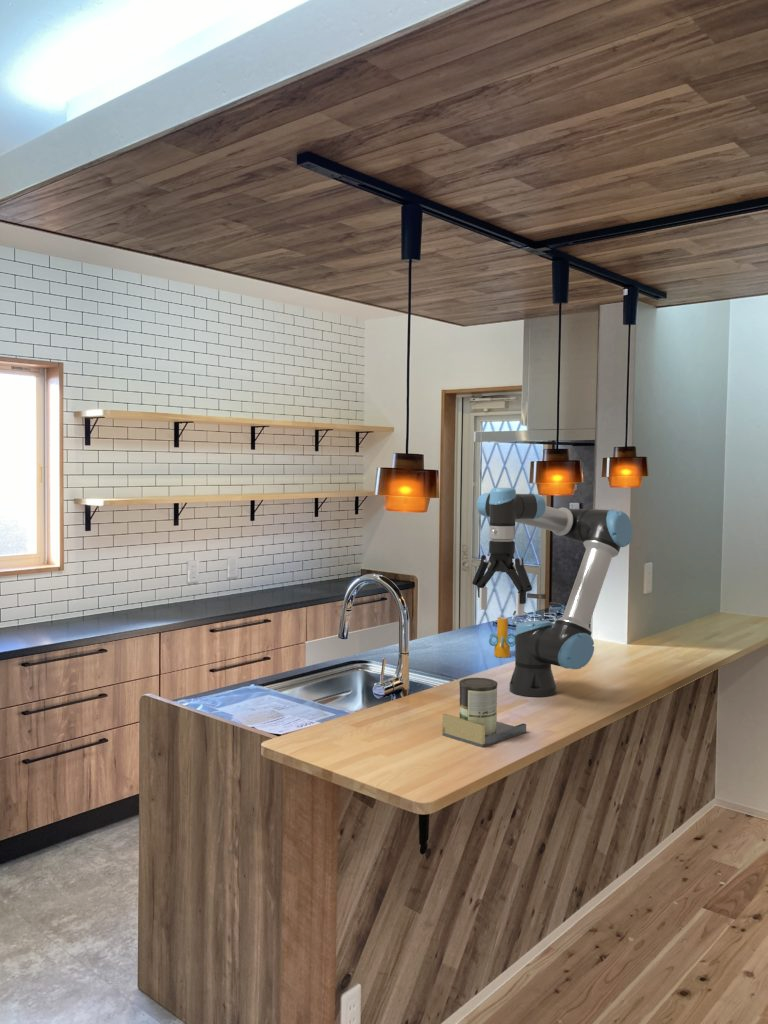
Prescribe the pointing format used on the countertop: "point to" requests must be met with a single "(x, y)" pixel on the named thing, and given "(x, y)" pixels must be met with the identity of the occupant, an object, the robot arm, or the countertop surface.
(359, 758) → the countertop surface
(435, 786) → the countertop surface
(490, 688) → the coffee can
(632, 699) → the countertop surface
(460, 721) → the rail channel
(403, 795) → the countertop surface
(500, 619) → the orange column with rings
